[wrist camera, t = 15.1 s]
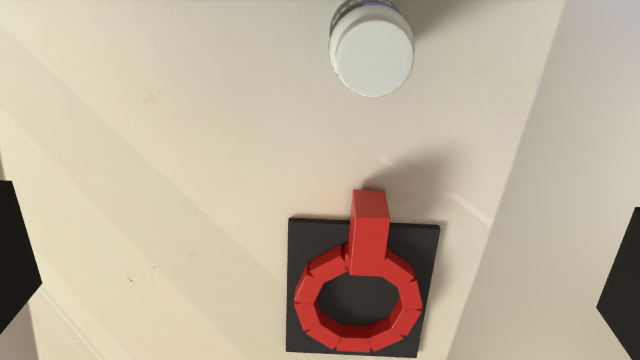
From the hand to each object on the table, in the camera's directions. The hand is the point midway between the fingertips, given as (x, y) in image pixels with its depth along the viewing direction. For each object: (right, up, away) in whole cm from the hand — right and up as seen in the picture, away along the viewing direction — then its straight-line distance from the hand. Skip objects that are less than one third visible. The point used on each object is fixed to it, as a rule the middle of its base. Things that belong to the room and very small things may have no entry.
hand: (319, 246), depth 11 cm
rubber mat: (+3, -8, +31) cm, 32 cm away
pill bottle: (+3, +11, +21) cm, 25 cm away
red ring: (+3, -6, +29) cm, 30 cm away
